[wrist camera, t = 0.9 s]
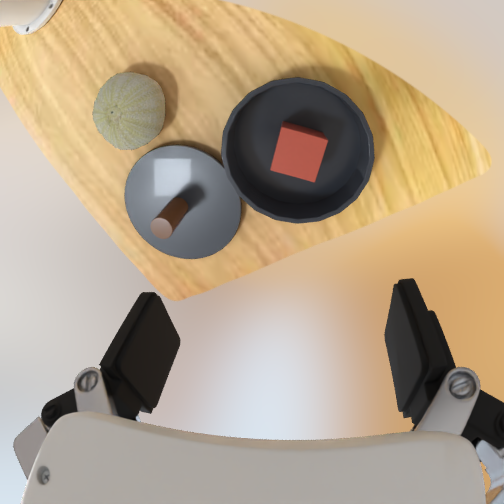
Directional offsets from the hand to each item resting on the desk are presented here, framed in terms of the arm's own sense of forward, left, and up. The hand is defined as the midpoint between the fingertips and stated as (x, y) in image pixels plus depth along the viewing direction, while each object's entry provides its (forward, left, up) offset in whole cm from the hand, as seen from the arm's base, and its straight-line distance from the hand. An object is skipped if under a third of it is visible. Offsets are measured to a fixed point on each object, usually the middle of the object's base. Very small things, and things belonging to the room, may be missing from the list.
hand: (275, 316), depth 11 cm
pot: (0, +2, -23) cm, 23 cm away
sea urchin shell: (-17, -7, -24) cm, 30 cm away
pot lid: (-5, -13, -23) cm, 27 cm away
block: (0, +2, -23) cm, 23 cm away
